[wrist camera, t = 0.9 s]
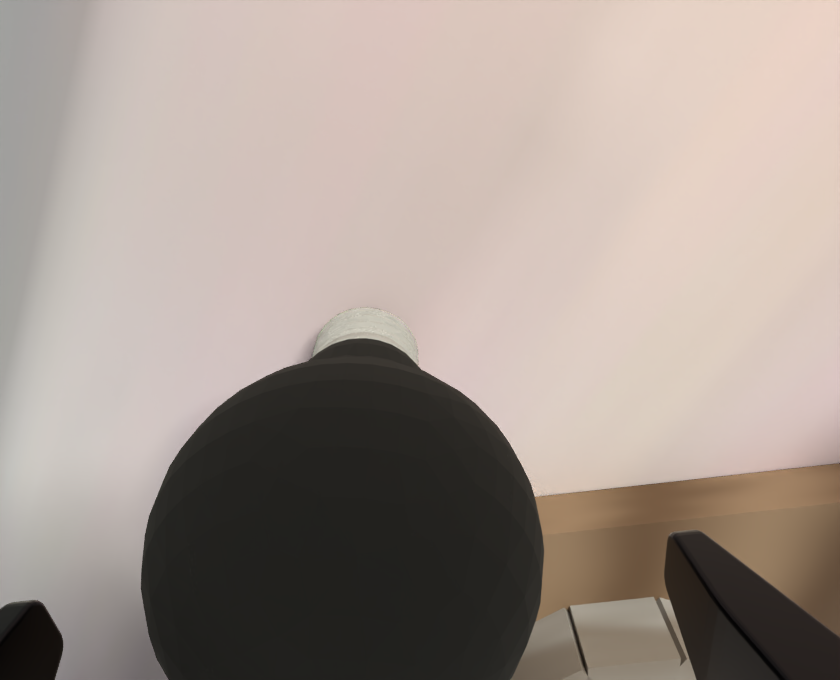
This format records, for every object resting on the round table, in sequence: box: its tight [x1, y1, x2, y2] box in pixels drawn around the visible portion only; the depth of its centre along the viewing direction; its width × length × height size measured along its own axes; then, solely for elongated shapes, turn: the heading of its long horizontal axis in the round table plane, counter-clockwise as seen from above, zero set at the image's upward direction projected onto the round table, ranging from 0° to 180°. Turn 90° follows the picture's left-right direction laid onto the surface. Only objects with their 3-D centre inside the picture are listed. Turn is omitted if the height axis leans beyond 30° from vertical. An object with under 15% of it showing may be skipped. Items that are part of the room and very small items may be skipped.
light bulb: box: [141, 307, 544, 680], centre depth 11 cm, size 6×6×10 cm
